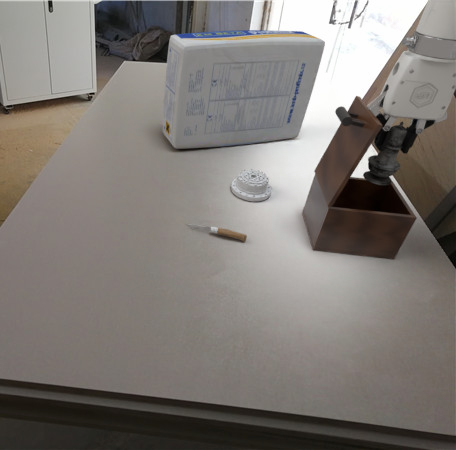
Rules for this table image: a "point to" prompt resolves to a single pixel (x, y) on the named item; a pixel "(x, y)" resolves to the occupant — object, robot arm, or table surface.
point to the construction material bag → (238, 86)
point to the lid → (346, 148)
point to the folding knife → (220, 231)
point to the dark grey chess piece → (386, 158)
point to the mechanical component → (251, 186)
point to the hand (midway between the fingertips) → (390, 148)
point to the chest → (358, 219)
